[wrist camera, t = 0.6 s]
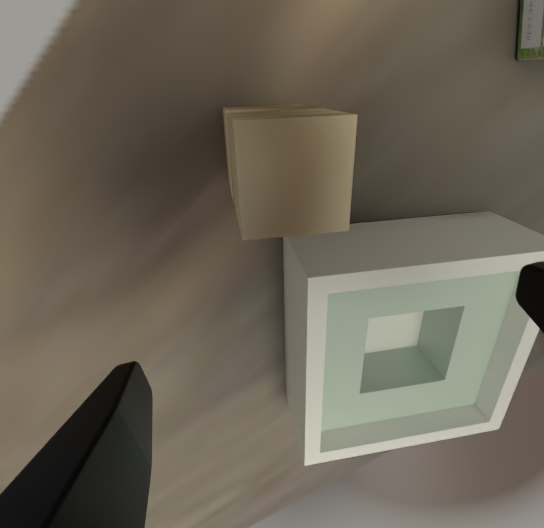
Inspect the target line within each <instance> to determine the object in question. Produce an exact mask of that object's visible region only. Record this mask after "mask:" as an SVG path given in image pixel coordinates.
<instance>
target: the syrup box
mask: <svg viewBox="0 0 544 528" xmlns="http://www.w3.org/2000/svg"><path fill="white" fill-rule="evenodd" d="M517 58H518V59H519V60H532V59H544V0H521V2H520V20H519V35H518V56H517Z"/></svg>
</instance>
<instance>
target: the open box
mask: <svg viewBox="0 0 544 528" xmlns="http://www.w3.org/2000/svg"><path fill="white" fill-rule="evenodd" d="M540 261H544V235H542V234H540V233H538V232H535V231H533V230H531V229H529V228H526V227H524V226H522V225H520V224H517V223H515V222H513V221H511V220H508V219H506V218H504V217H502V216H499V215H497V214H495V213H492V212H490V211H483V212H472V213H461V214H451V215H440V216H430V217H419V218H408V219H398V220H387V221H376V222H366V223H355V224H349V231H340V232H329V233H319V234H309V235H298V236H288V237H283V273H284V326H285V379H286V396H287V400H288V404H289V408H290V412H291V416H292V419H293V423H294V427H295V431H296V435H297V439H298V443H299V446H300V450H301V454H302V458H303V462H304V466H306V465H311V464H317V463H322V462H327V461H332V460H338V459H343V458H348V457H354V456H359V455H364V454H370V453H375V452H380V451H386V450H391V449H396V448H401V447H407V446H412V445H417V444H423V443H428V442H433V441H438V440H443V439H449V438H454V437H460V436H465V435H470V434H476V433H481V432H486V431H491V430H496V429H499V427H500V425H501V422H502V420H503V418H504V415H505V413H506V410H507V408H508V405H509V403H510V400H511V398H512V395H513V393H514V390H515V388H516V386H517V383H518V381H519V378H520V376H521V373H522V371H523V368H524V366H525V363H526V361H527V359H528V356H529V354H530V351H531V349H532V346H533V344H534V341H535V339H536V336H537V334H538V331H539V327H538V326H537V325H536V324H535V323H534V322H533V320H532V319H531V318H530V317H529V316H528V315H527V314H526V312H525V311H524V310H523V309H522V308H521V307H520V305H519V304H518V302H517V300H516V296H515V294H516V288H517V284H518V279H519V274H520V270H521V269H522V267H523V266H525V265H527V264H531V263H535V262H540Z"/></svg>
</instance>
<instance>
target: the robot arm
mask: <svg viewBox="0 0 544 528" xmlns="http://www.w3.org/2000/svg"><path fill="white" fill-rule="evenodd" d="M515 296H516V300H517V302H518V304H519V305H520V307H521V308H522V309H523V310H524V311H525V312H526V314H527V315H528V316H529V317H530V318H531V319H532V320H533V322H534V323H535V324H536V325H537V326H538V327H539V329H540V330H541V331H542V332H543V333H544V261H540V262H535V263H531V264H527V265H525V266H523V267H522V269H521V270H520V274H519V279H518V284H517V288H516V294H515ZM151 466H152V390H151V387H150V385H149V383H148V381H147V379H146V376H145V374H144V372H143V370H142V368H141V366H140V364H139V363H138V362H136V361H132V362H128V363H124V364H120V365H118V366H116V367H115V368H114V369H113V370H112V371H111V372H110V374H109V375H108V376H107V377H106V378H105V379H104V380H103V381H102V382H101V384H100V385H99V386H98V387H97V388H96V389H95V390H94V391H93V392H92V393H91V395H90V396H89V397H88V398H87V399H86V400H85V401H84V402H83V403H82V405H81V406H80V407H79V408H78V409H77V410H76V411H75V412H74V413H73V415H72V416H71V417H70V418H69V419H68V420H67V421H66V422H65V423H64V424H63V426H62V427H61V428H60V429H59V430H58V431H57V432H56V433H55V434H54V436H53V437H52V438H51V439H50V440H49V441H48V442H47V443H46V444H45V445H44V447H43V448H42V449H41V450H40V451H39V452H38V453H37V454H36V455H35V457H34V458H33V459H32V460H31V461H30V462H29V463H28V464H27V465H26V467H25V468H24V469H23V470H22V471H21V472H20V473H19V474H18V475H17V476H16V478H15V479H14V480H13V481H12V482H11V483H10V484H9V485H8V486H7V488H6V489H5V490H4V491H3V492H2V493H1V494H0V528H144V527H145V519H146V511H147V503H148V494H149V486H150V477H151Z"/></svg>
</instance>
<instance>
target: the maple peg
mask: <svg viewBox="0 0 544 528" xmlns="http://www.w3.org/2000/svg"><path fill="white" fill-rule="evenodd" d="M222 111H223V122H224V133H225V144H226V155H227V167H228V178H229V187H230V191H231V195H232V199H233V204H234V208H235V212H236V216H237V221H238V225H239V229H240V233H241V237H242V241H247V240H257V239H267V238H278V237H288V236H298V235H309V234H319V233H329V232H340V231H349V222H350V209H351V195H352V182H353V169H354V156H355V142H356V129H357V116H358V115H357V114H352V113H346V112H341V111H336V110H330V109H325V108H319V107H314V106H308V105H303V104H282V105H259V106H237V107H222Z"/></svg>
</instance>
